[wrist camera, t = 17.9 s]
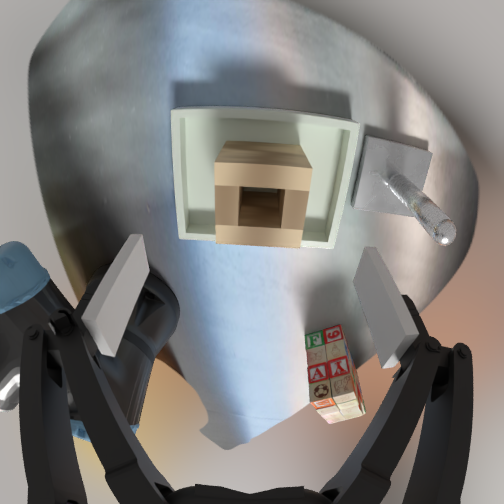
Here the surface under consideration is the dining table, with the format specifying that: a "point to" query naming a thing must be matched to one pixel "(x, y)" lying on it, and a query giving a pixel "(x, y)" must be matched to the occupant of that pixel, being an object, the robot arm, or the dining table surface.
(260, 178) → the oak block
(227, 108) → the tray
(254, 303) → the dining table surface
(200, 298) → the dining table surface
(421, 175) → the post
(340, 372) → the stack of blocks
